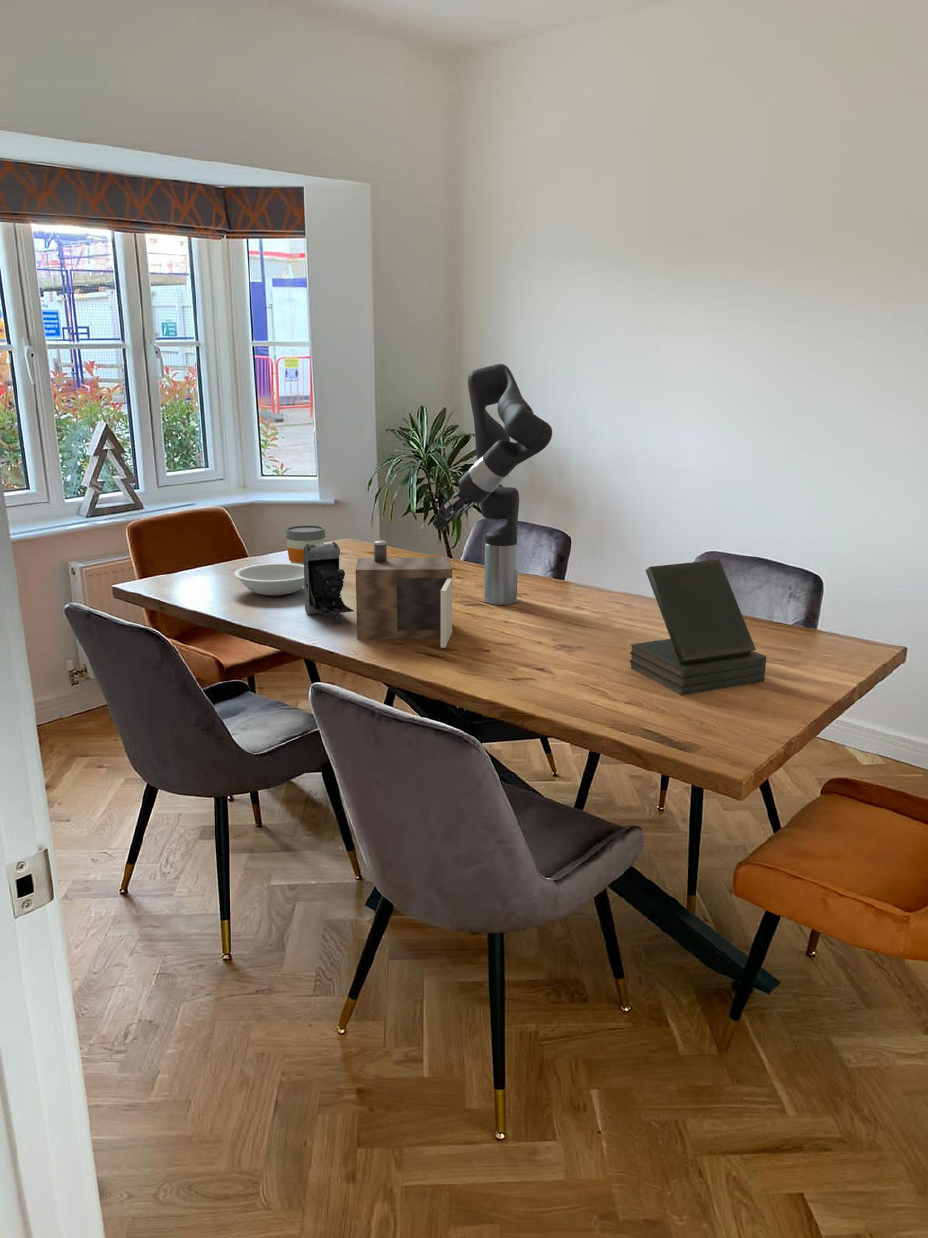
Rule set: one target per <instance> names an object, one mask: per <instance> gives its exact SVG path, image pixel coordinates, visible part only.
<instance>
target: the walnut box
mask: <svg viewBox="0 0 928 1238" xmlns="http://www.w3.org/2000/svg"><path fill="white" fill-rule="evenodd" d="M356 561H357V562H356V565H355V595H356V596H355V598H356V599H355V601H356V606H355V607H356V639H357V640H404V639H406V640H407V639H411V640H413V639H415V640H416V639H417V640H418V639H422V640H423V639H441V589H442V587H443V585H444V584H445V582H446V580H447V578H448V577H452V578H453V566H452V562H451V559H450V556H442V557H441V556H439V557H438V556H435V557H434V556H430V557H429V556H427V557H426V556H425V557H423V556H421V557H419V556H418V557H410V556H409V557H407V556H406V557H387V561H386V562H375V561H374V557H357V560H356ZM449 639H453V632H452V633H451V636H450V638H449Z"/></svg>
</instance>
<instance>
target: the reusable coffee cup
mask: <svg viewBox="0 0 928 1238" xmlns="http://www.w3.org/2000/svg"><path fill="white" fill-rule="evenodd" d="M325 538H326V532H325V527H324V526H320V525H311V524H310V525H307V524H303V525H302V524H300V525H293V526H289V527H288V526H287V527H286V529H285V539H286V542H287V545H286V548H287V549H286V550H287V555H288V561H289V562H290V563H292V564H301V565H304V546H306V544H308V545H319V544H325Z"/></svg>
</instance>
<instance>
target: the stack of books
mask: <svg viewBox="0 0 928 1238" xmlns="http://www.w3.org/2000/svg"><path fill="white" fill-rule="evenodd" d="M644 571H645V573H646V575H647V578H648V582H649V584H650V586H651V589H652V592H653V595H654V598H655V600H656V603H657V605H658V608H659V611H660V613H661V616H662V619H663V621H664V625H665V627H666V630H667V632H668V635H669V638H667V639H660V640H659V639H658V640H653V641H646V642H635V643H631V644H630V646H631V651H629V654H630V655H631V657H630V658H631V659H629V663H630V670H632V671H634V672H636V673H638V674H641V675H642V676H644V677H646V678H648V679H649V680H652V681H653V682H655V683H657V684H659V685H661V686H662V687H665V688H667V689H668V690H671V691H672V692H674V693H676V694H678V695H679V696H680V697H681V696H685V695H692V694H698V693H703V692H710V691H716V690H721V689H727V688H734V687H741V686H745V685H750V684H758V683H763V682H765V679H766V678H765V677H766V676H765V673H766V665H767V655H765V654H762V653H759V652H757V649H756V646H755V644H754V641H753V640H752V639H753V638H752V636H751V634H750V631H749V629H748V626H747V624H746V622H745V619H744V616H743V614H742V612H741V610H740V607H739V605H738V602H737V599H736V597H735V594H734V592H733V590H732V586H731V583H730V582H729V580H728V577H727V574H726V571H725V569H724V567H723V564H722V562H721V560H720V559H715V560H714V559H712V560H703V561H694V562H685V563H683V562H682V563H673V564H666V565H665V564H664V565H656V566H655V565H654V566H653V565H651V566H649V567H647V568H646V570H644Z"/></svg>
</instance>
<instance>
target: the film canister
mask: <svg viewBox="0 0 928 1238" xmlns="http://www.w3.org/2000/svg"><path fill="white" fill-rule="evenodd" d="M387 544H388V542H387V541H386V540H375V541H373V558H374V561H375V562H386V561H387V558H388V556H387V554H388V553H387V552H388V551H387V550H388V549H387Z"/></svg>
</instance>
